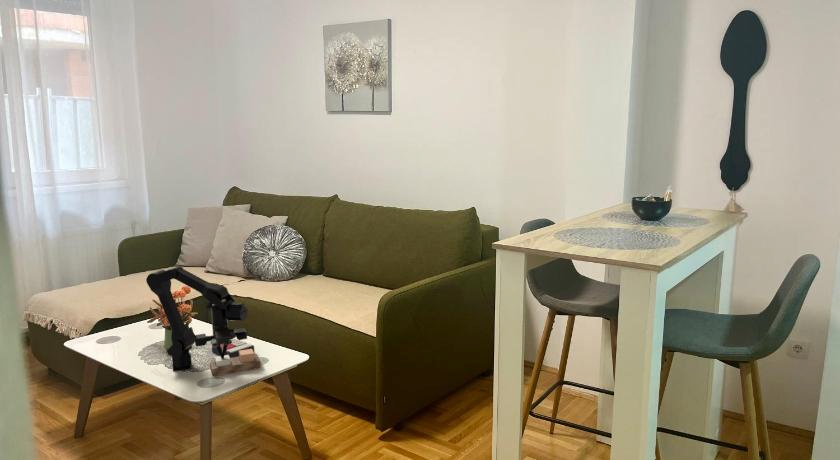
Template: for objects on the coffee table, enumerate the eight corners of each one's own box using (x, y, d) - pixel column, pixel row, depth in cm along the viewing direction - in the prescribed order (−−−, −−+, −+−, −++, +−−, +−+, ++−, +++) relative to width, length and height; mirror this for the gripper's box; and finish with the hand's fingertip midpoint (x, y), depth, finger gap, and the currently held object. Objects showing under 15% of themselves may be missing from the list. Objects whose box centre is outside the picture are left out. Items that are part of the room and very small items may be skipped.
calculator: (234, 337, 265) (254, 343, 255) (235, 346, 266) (255, 353, 256) (211, 344, 257) (230, 351, 247) (212, 354, 258) (231, 361, 248)
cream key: (217, 371, 236) (216, 361, 235) (215, 366, 240) (215, 356, 240) (230, 369, 238) (230, 359, 237) (229, 364, 242) (228, 354, 242)
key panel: (212, 376, 234) (211, 369, 233) (210, 368, 241) (209, 361, 240) (260, 368, 241) (260, 360, 241) (257, 360, 248) (256, 353, 248)
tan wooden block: (241, 365, 239) (240, 355, 239) (239, 360, 244) (238, 350, 243) (254, 362, 241) (254, 353, 241) (252, 358, 246) (251, 348, 245)
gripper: (195, 329, 224) (198, 370, 227) (248, 322, 232) (250, 361, 235) (193, 320, 234) (196, 359, 237) (243, 313, 242) (246, 351, 245)
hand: (222, 358), depth 238 cm, fingers closed, pressing on cream key
